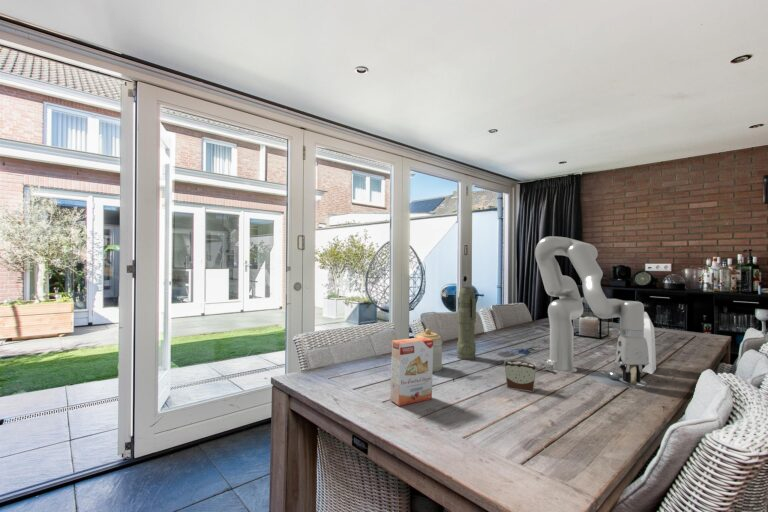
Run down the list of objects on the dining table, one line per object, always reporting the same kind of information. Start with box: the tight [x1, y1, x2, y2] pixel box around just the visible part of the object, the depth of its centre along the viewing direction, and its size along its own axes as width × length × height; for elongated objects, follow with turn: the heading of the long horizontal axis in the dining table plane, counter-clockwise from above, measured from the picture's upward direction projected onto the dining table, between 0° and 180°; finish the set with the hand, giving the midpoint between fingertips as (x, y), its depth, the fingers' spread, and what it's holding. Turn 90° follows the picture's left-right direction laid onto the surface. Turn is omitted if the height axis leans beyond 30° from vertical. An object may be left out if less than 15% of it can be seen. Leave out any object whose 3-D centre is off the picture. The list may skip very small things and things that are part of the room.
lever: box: [607, 365, 637, 386], centre depth 146 cm, size 13×6×8 cm, turn 5°
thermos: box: [456, 286, 477, 361], centre depth 184 cm, size 9×12×35 cm
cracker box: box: [390, 337, 433, 407], centre depth 127 cm, size 14×6×21 cm, turn 121°
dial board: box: [588, 371, 648, 389], centre depth 149 cm, size 20×20×1 cm
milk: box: [620, 311, 657, 375], centre depth 169 cm, size 12×12×26 cm
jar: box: [414, 328, 443, 373], centre depth 165 cm, size 13×13×18 cm
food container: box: [502, 358, 539, 392], centre depth 142 cm, size 12×6×10 cm, turn 65°
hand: (631, 381), depth 141 cm, fingers closed on lever, 3 cm apart
